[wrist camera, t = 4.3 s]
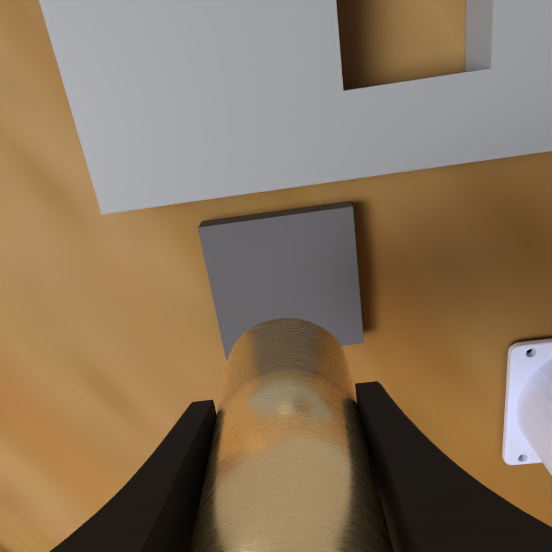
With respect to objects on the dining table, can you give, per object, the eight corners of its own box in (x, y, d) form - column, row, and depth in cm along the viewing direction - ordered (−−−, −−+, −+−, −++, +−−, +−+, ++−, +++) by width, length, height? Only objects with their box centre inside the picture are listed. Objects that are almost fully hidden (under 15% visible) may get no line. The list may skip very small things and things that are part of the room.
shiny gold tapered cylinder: (341, 310, 14) (408, 548, 7) (352, 413, 16) (415, 700, 8) (216, 325, 14) (148, 571, 7) (238, 425, 16) (201, 715, 8)
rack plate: (597, -227, 15) (658, -289, 13) (563, 138, 20) (604, 144, 17) (33, -120, 17) (-10, -158, 14) (121, 200, 21) (99, 215, 19)
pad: (349, 201, 21) (353, 206, 20) (360, 333, 24) (364, 343, 23) (201, 221, 21) (198, 227, 20) (228, 348, 24) (226, 359, 23)
